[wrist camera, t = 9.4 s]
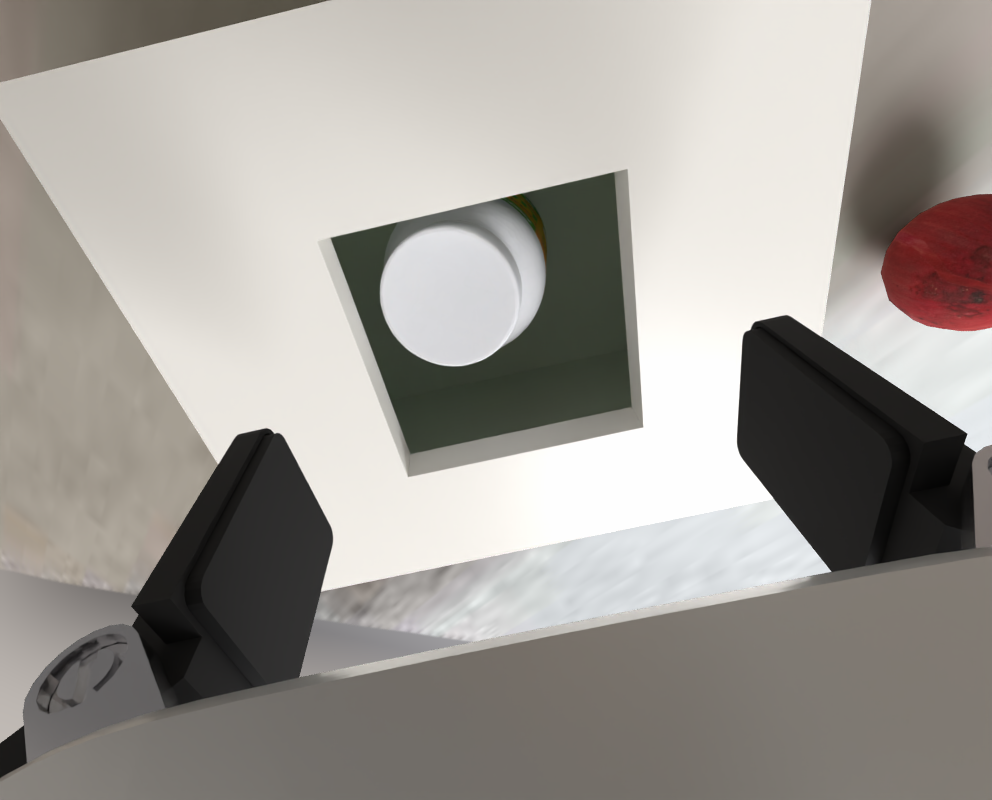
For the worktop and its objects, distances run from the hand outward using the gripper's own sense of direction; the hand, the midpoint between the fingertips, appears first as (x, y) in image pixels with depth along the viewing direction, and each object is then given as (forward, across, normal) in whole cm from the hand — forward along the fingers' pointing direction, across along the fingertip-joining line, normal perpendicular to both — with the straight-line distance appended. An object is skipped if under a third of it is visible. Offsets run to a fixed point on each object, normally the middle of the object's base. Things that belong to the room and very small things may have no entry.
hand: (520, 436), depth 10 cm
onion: (+16, -21, +5) cm, 27 cm away
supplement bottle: (+15, 0, 0) cm, 15 cm away
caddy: (+16, 0, 0) cm, 16 cm away
